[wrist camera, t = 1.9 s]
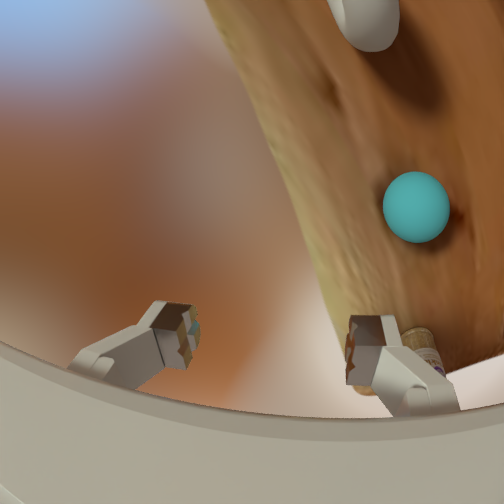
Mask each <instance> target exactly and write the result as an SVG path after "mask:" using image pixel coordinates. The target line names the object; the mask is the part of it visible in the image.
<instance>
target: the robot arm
mask: <svg viewBox="0 0 504 504" xmlns="http://www.w3.org/2000/svg"><path fill="white" fill-rule="evenodd" d="M197 315H198V314H197V310H196V307H195V306H194V305H191V304H183V303H175V302H166V301H159V300H157V301H154V303H153V304H152V305H151V307H150V308H149V309H148V310H147V312H146V313H145V314H144V316H143V317H142V318H141V320H140V321H139V323H138V324H137V325H136V326H135V325H133V326H130V327H128V328H126V329H124V330H122V331H119V332H118V333H115V334H113V335H111V336H109V337H107V338H105V339H103V340H100V341H98V342H96V343H94V344H92V345H90V346H88V347H86V348H84V349H82V350H81V351H80V352H79V353H78V355H77V356H76V357H75V358H74V360H73V361H72V362H71V363H70V365H69V366H68V367H67V368H63V367H60V366H58V365H55V364H53V363H50V362H47V361H45V360H42V359H40V358H37V357H35V356H33V355H30V354H28V353H26V352H23V351H21V350H19V349H16V348H14V347H12V346H10V345H8V344H6V343H4V342H2V341H0V504H504V403H500V404H496V405H491V406H485V407H480V408H475V409H468V410H462V411H461V410H460V407H459V403H458V400H457V396H456V393H455V390H454V387H453V384H452V383H451V382H449V381H448V380H447V379H446V378H445V377H444V376H442V375H441V374H440V373H439V372H438V371H436V370H435V369H434V368H433V367H432V366H430V365H429V364H428V363H427V362H426V361H424V360H423V359H422V358H421V357H420V356H418V355H417V354H416V353H415V352H414V351H412V350H411V349H410V348H409V347H407V346H403V344H402V340H401V337H400V333H399V330H398V326H397V323H396V319H395V316H394V315H351V316H350V319H349V333H348V334H347V337H346V344H345V361H346V362H347V366H346V385H362V386H371V388H372V389H373V391H374V392H375V393H376V395H377V396H378V397H379V399H380V400H381V401H382V402H383V404H384V405H385V406H386V408H387V409H388V410H389V412H390V413H391V414H392V415H393V417H390V418H315V417H297V416H284V415H273V414H263V413H254V412H246V411H238V410H230V409H224V408H218V407H212V406H206V405H200V404H195V403H189V402H184V401H179V400H174V399H170V398H166V397H161V396H156V395H152V394H149V393H144V392H140V391H137V390H135V389H137V388H138V387H139V386H140V385H142V384H143V383H145V382H146V381H147V380H149V379H150V378H152V377H153V376H154V375H156V374H157V373H159V372H160V371H161V370H163V369H164V368H165V367H169V368H176V369H182V370H187V368H188V366H189V364H190V362H191V359H192V353H191V352H192V351H194V350H195V349H197V347H198V344H199V340H200V325H199V323H198V322H197V321H196V320H195V318H196V316H197Z"/></svg>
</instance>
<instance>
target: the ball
mask: <svg viewBox="0 0 504 504" xmlns="http://www.w3.org/2000/svg"><path fill="white" fill-rule="evenodd" d="M383 211H384V216H385V219H386V222H387V224H388V226H389V227H390V228H391V230H392V231H393V232H394V233H395V234H396V235H397V236H399V237H400V238H402V239H403V240H406V241H409V242H413V243H422V242H427V241H430V240H432V239H434V238H435V237H436V236H438V235H439V234H440V233H441V232H442V231H443V229H444V228H445V226H446V224H447V221H448V218H449V213H450V204H449V199H448V195H447V193H446V191H445V189H444V188H443V186H442V185H441V184H440V183H439V182H438V181H437V180H436V179H435V178H434V177H432V176H430V175H428V174H426V173H423V172H408V173H405V174H402V175H400V176H399V177H397V178H396V179H395V180H394V181H393V182H392V183H391V184H390V185H389V187H388V189H387V190H386V193H385V196H384V201H383Z"/></svg>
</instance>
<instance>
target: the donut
mask: <svg viewBox="0 0 504 504" xmlns="http://www.w3.org/2000/svg"><path fill="white" fill-rule="evenodd" d="M327 1H328V4H329V6H330V9H331V11H332V14H333V16H334V18H335V20H336V23H337V25H338V27H339V29H340V31H341V32H342V34H343V36H344V37H345V38H346V39H347V40H348V41H349V43H350V44H351V45H352V46H354V47H355V48H357V49H359V50H362V51H365V52H378V51H382V50H385V49H387V48H388V47H389V46H391V44H392V43H393V41H394V39H395V37H396V36H397V34H398V28H399V19H400V10H399V0H327Z"/></svg>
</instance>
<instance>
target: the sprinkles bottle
mask: <svg viewBox="0 0 504 504" xmlns="http://www.w3.org/2000/svg"><path fill="white" fill-rule="evenodd" d="M401 340H402V344H403V346H407V347H409V348H410V349H411V350H412V351H414V352H415V353H416V354H417V355H418V356H420V357H421V358H422V359H423V360H424V361H426V362H427V363H428V364H429V365H430V366H432V367H433V368H434V369H435V370H436V371H438V372H439V373H440V374H441V375H442V376H444V377H445V378H446V374H445V371H444V368H443V364H442V361H441V358H440V355H439V353H438V351H437V349H436V346H435V343H434V337H433V335H432V333H431V332H430V331H429V330H428V329H426V328H422V327H417V328H413V329H410V330H408V331H406V332H405V333H404V334H403V335H402V336H401Z"/></svg>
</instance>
